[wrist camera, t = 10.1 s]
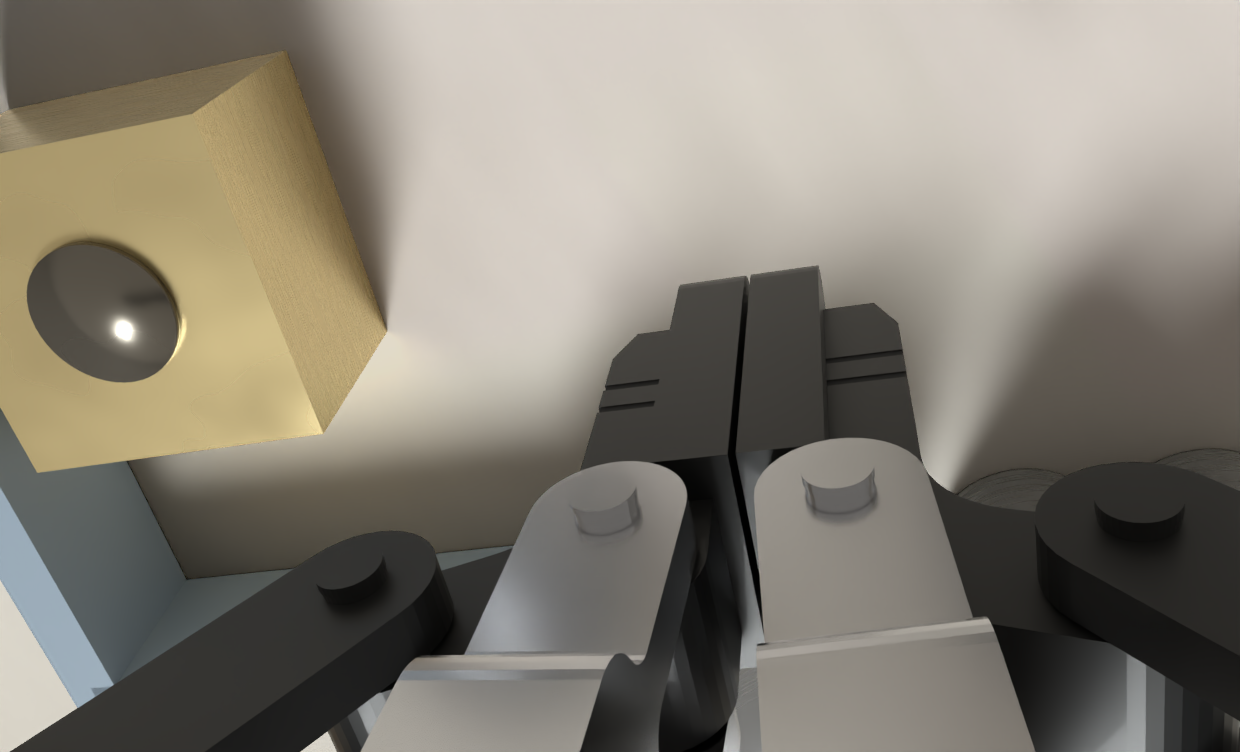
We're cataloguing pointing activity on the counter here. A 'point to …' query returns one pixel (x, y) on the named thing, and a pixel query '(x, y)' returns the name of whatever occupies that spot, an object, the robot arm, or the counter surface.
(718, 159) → the counter surface
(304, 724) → the robot arm
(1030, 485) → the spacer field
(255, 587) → the parts bay
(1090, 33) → the counter surface
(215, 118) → the yellow knobbed block
